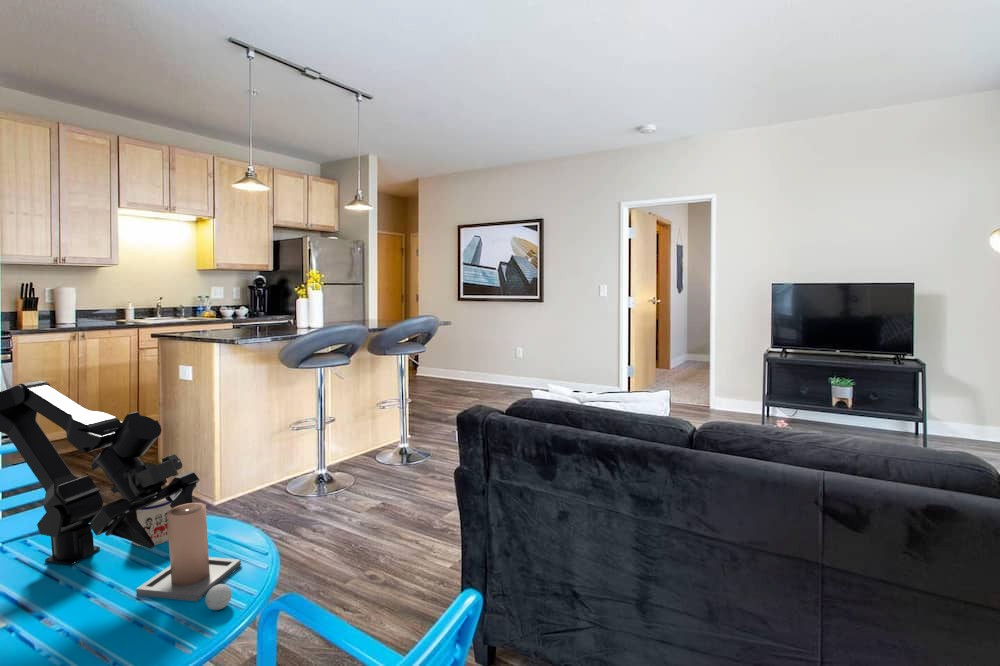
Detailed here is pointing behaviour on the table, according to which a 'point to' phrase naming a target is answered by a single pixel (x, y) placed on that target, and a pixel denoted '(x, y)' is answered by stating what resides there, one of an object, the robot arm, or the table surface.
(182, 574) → the terracotta cup
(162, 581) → the charcoal tray
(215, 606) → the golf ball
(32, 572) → the table surface
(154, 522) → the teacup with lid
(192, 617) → the table surface
